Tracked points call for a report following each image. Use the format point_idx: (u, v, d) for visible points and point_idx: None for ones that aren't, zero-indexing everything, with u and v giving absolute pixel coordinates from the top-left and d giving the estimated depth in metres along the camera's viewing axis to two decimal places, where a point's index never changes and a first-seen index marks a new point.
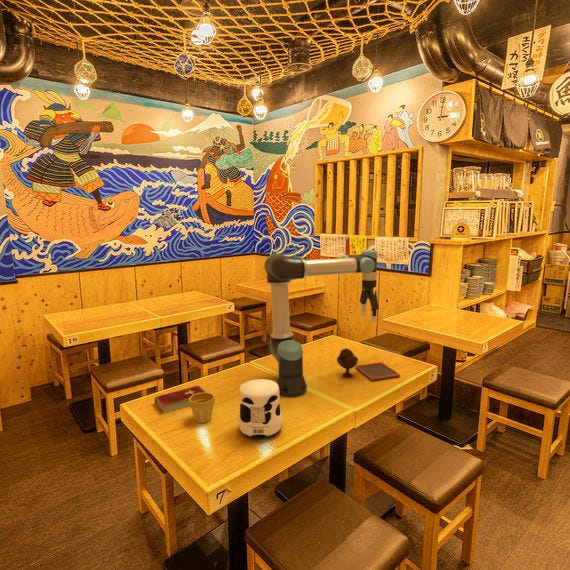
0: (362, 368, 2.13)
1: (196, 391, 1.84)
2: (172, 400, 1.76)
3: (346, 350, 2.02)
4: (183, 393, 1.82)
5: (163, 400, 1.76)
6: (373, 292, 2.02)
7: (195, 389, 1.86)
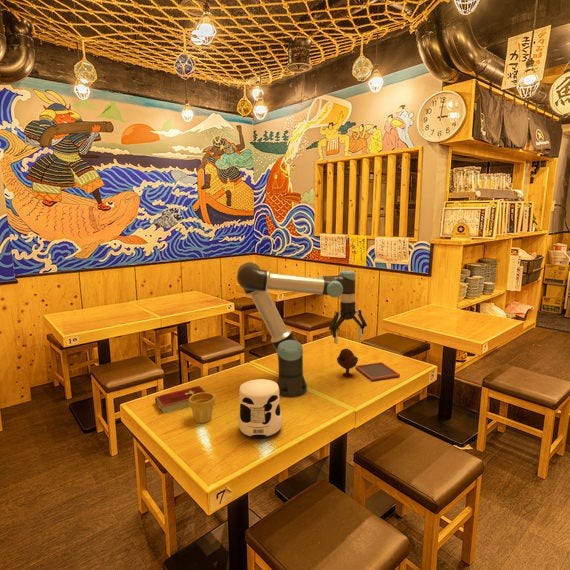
0: (362, 368, 2.13)
1: (196, 391, 1.84)
2: (172, 400, 1.76)
3: (346, 350, 2.02)
4: (183, 393, 1.82)
5: (163, 400, 1.76)
6: (335, 313, 1.99)
7: (196, 389, 1.86)
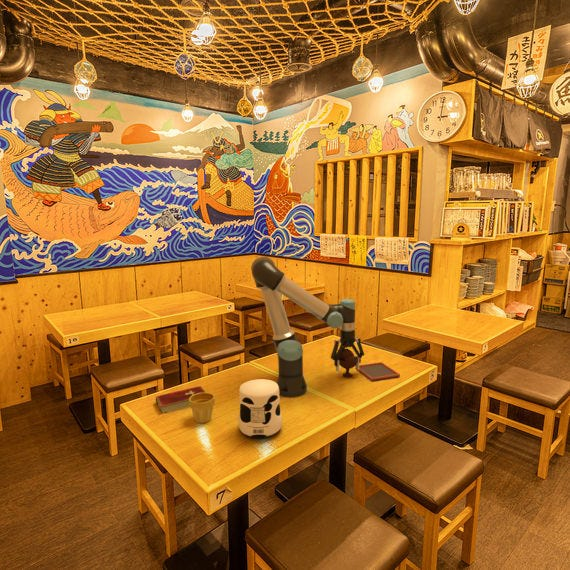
0: (362, 368, 2.13)
1: (197, 392, 1.83)
2: (172, 400, 1.76)
3: (346, 350, 2.02)
4: (184, 393, 1.82)
5: (163, 400, 1.76)
6: (335, 342, 2.02)
7: (196, 390, 1.86)
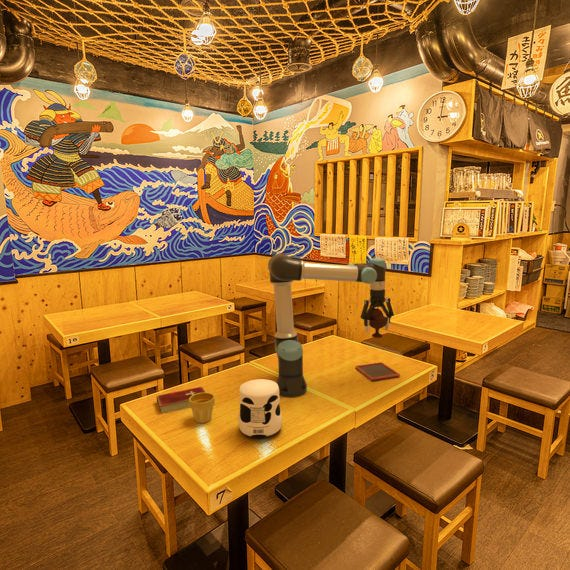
0: (362, 368, 2.13)
1: (197, 392, 1.83)
2: (172, 400, 1.76)
3: (376, 309, 2.01)
4: (184, 394, 1.82)
5: (163, 399, 1.77)
6: (365, 301, 2.01)
7: (197, 390, 1.85)
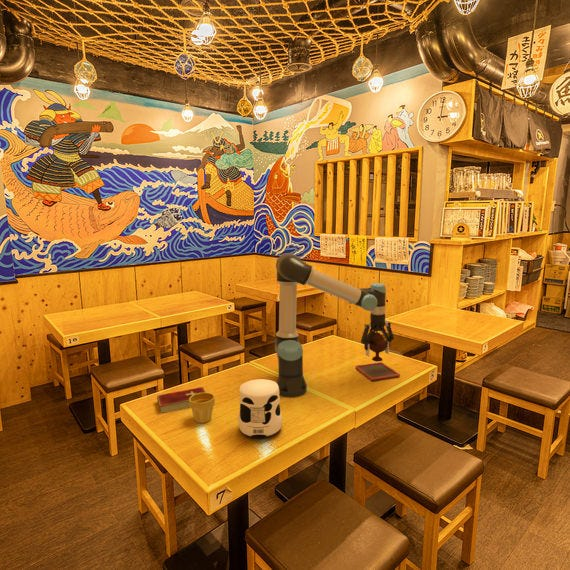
0: (362, 368, 2.13)
1: None
2: (172, 400, 1.76)
3: (376, 334, 2.03)
4: (185, 394, 1.82)
5: (163, 399, 1.77)
6: (365, 326, 2.03)
7: (198, 391, 1.85)
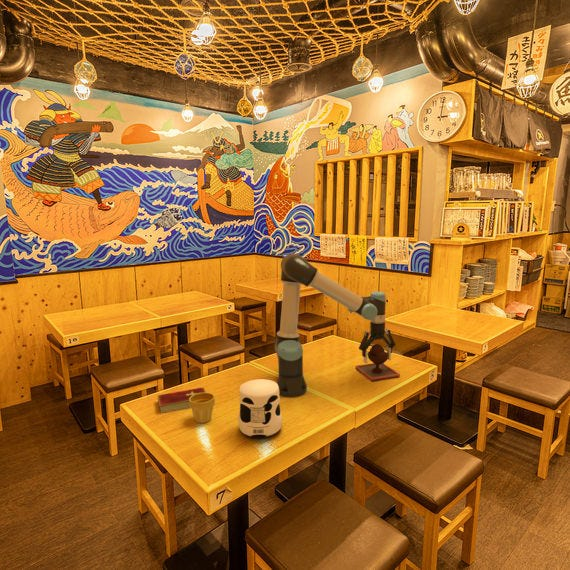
0: (362, 368, 2.13)
1: None
2: (171, 400, 1.76)
3: (377, 346, 2.04)
4: (185, 394, 1.81)
5: (164, 399, 1.77)
6: (365, 333, 2.04)
7: (198, 391, 1.84)
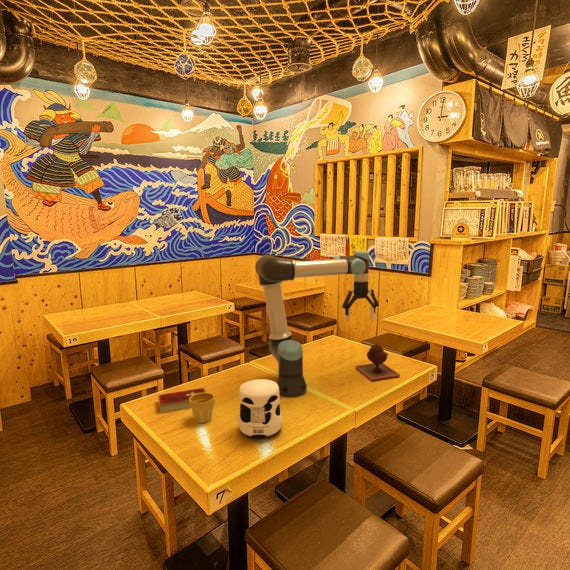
0: (362, 368, 2.13)
1: None
2: (171, 400, 1.76)
3: (376, 346, 2.04)
4: (185, 394, 1.81)
5: (164, 399, 1.77)
6: (348, 292, 2.06)
7: (198, 391, 1.84)
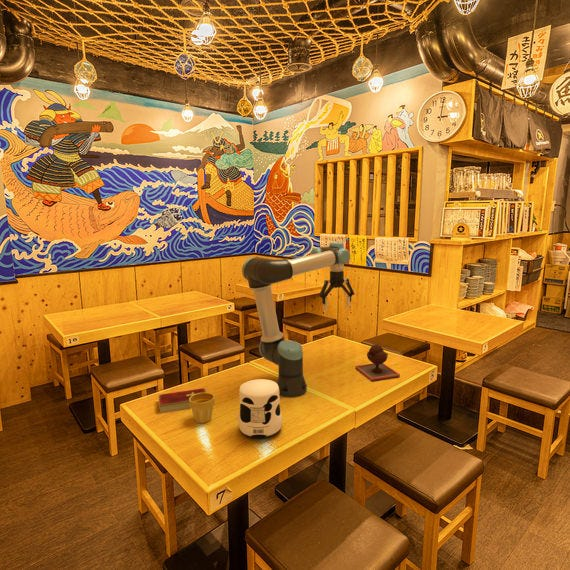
0: (362, 368, 2.13)
1: None
2: (171, 400, 1.76)
3: (376, 346, 2.04)
4: (185, 394, 1.81)
5: (164, 399, 1.77)
6: (324, 281, 2.14)
7: (199, 392, 1.84)
